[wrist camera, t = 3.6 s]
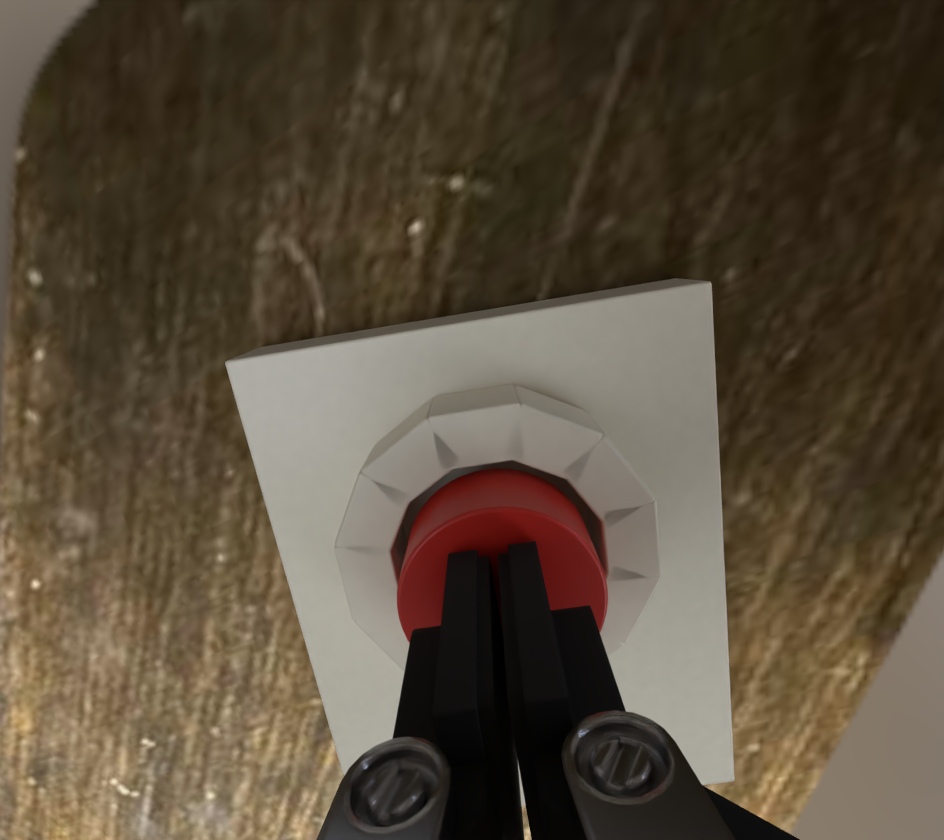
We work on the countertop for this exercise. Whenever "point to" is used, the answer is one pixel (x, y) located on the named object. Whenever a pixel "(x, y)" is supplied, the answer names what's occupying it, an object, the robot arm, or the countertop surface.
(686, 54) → the countertop surface
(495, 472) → the power button
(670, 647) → the grey button base
